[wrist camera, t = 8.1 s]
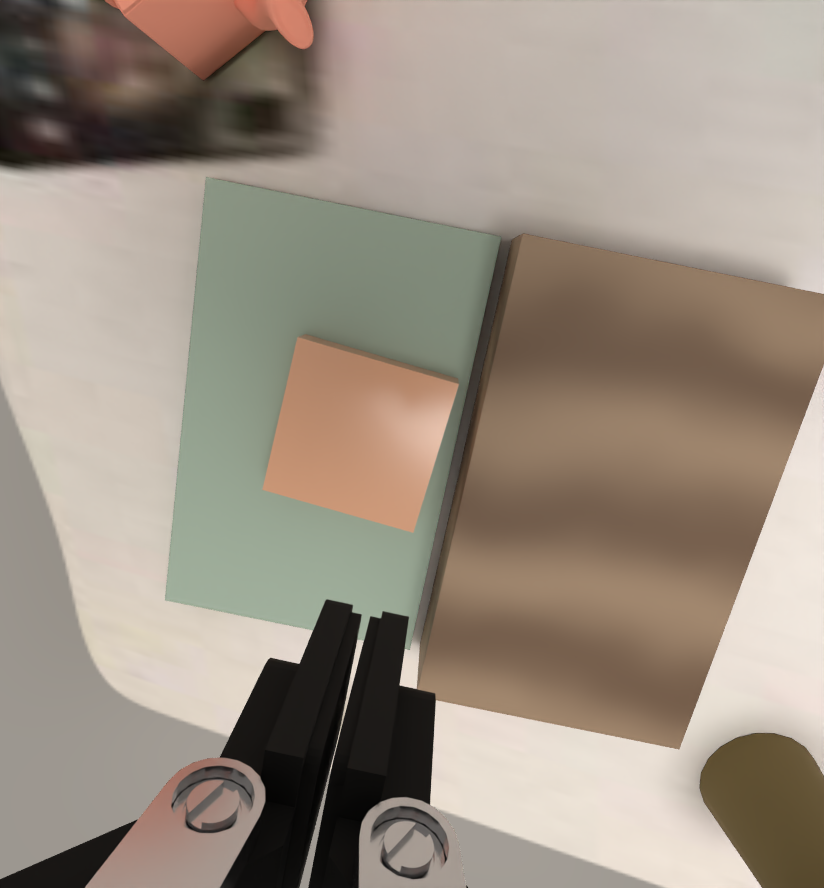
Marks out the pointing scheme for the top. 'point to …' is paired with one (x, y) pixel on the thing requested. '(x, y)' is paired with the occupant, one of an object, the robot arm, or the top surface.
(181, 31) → the teapot
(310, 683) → the robot arm
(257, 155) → the top surface
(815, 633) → the top surface
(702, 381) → the board
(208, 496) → the mat
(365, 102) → the top surface
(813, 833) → the cork
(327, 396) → the tile
